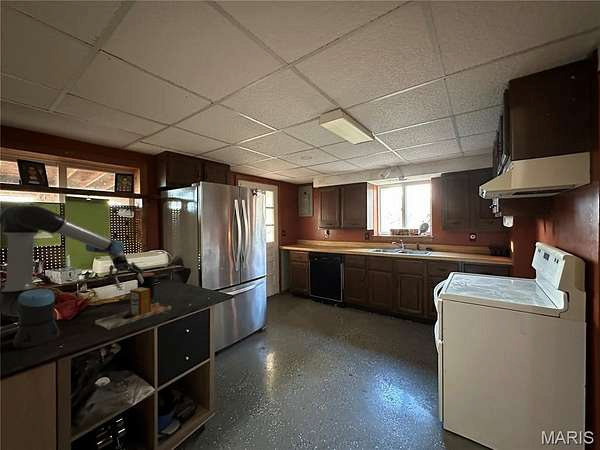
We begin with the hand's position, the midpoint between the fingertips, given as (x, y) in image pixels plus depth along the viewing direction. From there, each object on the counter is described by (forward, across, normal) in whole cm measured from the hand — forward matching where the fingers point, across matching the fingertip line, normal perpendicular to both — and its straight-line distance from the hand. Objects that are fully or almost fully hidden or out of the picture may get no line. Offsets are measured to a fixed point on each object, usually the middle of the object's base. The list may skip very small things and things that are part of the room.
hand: (131, 284), depth 154 cm
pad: (+20, +14, -5) cm, 25 cm away
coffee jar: (-2, -20, -27) cm, 33 cm away
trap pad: (+20, -10, -5) cm, 23 cm away
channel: (+20, +3, -5) cm, 20 cm away
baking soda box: (+20, 0, -5) cm, 20 cm away
